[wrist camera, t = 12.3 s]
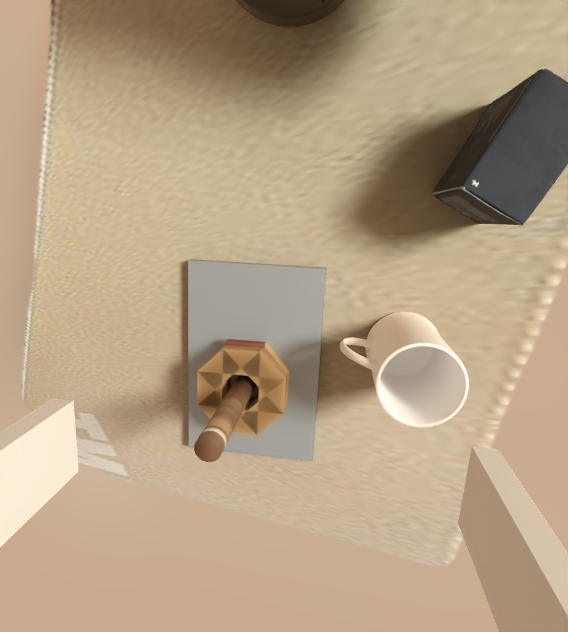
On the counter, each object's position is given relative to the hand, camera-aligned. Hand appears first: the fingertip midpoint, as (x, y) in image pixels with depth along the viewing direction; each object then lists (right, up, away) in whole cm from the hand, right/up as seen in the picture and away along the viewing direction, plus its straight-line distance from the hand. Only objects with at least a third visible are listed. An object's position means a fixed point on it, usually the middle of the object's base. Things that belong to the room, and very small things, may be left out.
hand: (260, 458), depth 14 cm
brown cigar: (-4, -3, +37) cm, 38 cm away
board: (-3, -1, +38) cm, 38 cm away
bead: (-4, -3, +37) cm, 38 cm away
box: (+22, +20, +30) cm, 43 cm away
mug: (+13, +2, +36) cm, 38 cm away
